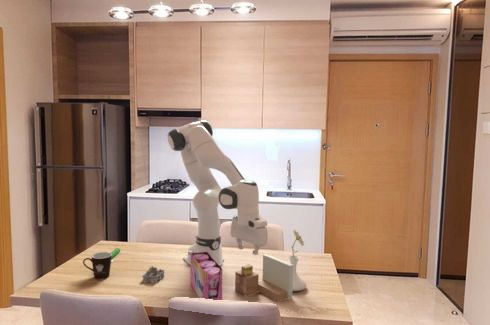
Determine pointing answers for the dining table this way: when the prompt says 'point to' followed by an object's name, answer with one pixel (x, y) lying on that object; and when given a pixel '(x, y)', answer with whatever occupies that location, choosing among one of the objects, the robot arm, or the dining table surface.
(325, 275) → the dining table surface
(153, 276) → the grey jagged rock
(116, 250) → the green onion
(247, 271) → the wooden block
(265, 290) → the bookend
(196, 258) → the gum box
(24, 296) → the dining table surface
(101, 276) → the coffee mug
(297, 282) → the flower in vase
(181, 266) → the dining table surface
